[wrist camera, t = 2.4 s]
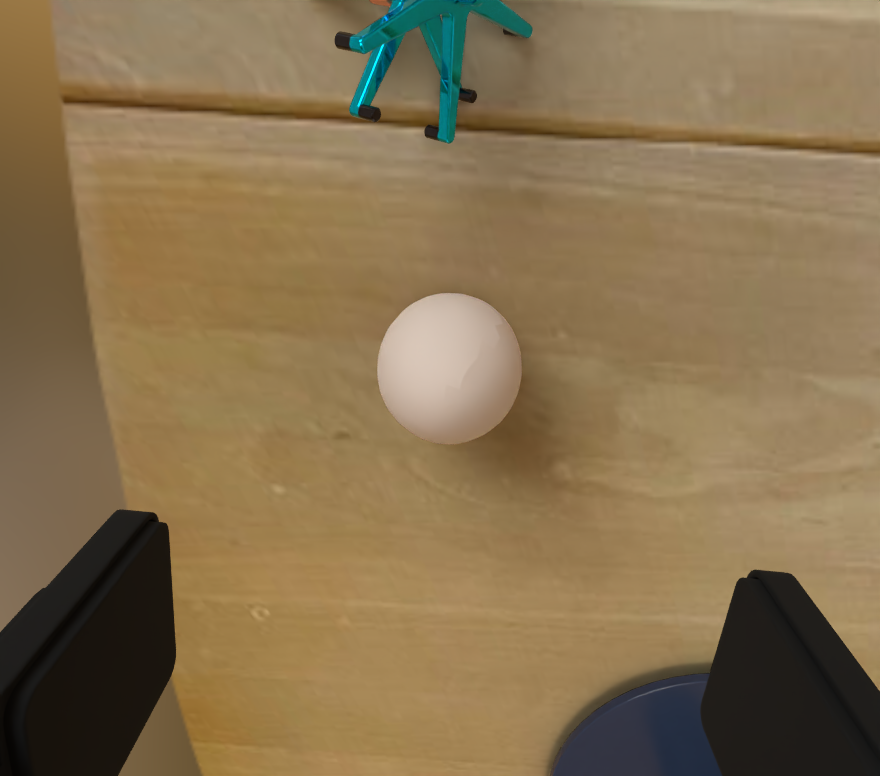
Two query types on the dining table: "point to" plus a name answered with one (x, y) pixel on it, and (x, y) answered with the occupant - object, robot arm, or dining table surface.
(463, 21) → the stick construction toy
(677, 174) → the dining table surface
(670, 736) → the lid
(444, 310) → the egg
